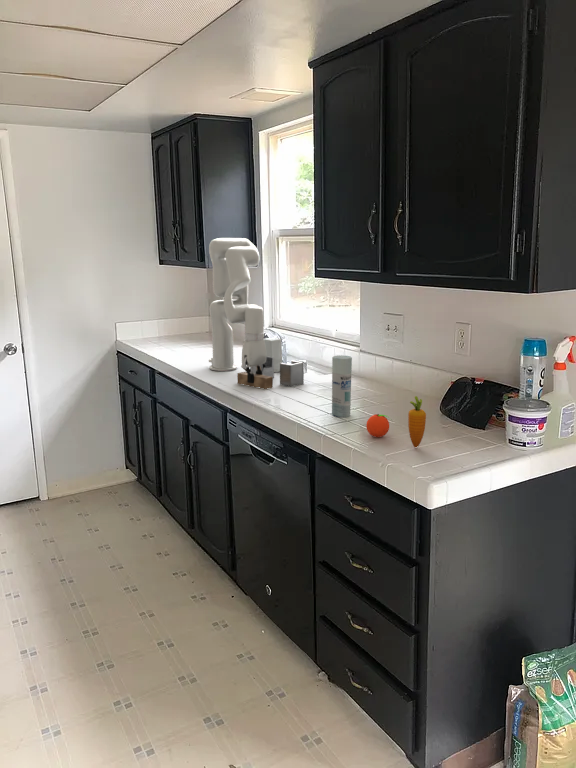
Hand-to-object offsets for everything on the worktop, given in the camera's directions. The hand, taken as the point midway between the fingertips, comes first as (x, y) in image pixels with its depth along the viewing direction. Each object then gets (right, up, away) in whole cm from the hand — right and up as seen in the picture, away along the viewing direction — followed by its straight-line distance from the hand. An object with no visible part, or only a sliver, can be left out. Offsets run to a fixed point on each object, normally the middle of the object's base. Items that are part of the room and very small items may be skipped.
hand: (254, 381), depth 264 cm
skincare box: (+6, +5, +31) cm, 32 cm away
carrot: (+50, -20, -79) cm, 96 cm away
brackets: (+9, 0, +9) cm, 12 cm away
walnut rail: (0, -2, 0) cm, 2 cm away
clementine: (+41, -17, -68) cm, 82 cm away
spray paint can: (+32, -12, -44) cm, 55 cm away
